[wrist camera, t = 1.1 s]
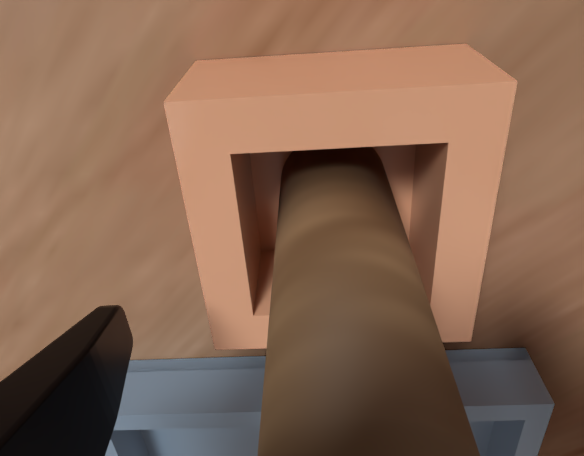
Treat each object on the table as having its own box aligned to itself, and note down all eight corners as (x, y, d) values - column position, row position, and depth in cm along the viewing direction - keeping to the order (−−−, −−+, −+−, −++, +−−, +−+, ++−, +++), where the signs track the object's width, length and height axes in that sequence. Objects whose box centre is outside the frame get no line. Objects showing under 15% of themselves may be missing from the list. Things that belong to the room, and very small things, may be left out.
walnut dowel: (387, 129, 13) (504, 413, 6) (383, 224, 15) (470, 545, 7) (277, 135, 13) (242, 419, 6) (284, 228, 15) (266, 547, 7)
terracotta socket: (466, 43, 12) (517, 81, 9) (440, 264, 16) (471, 341, 13) (195, 60, 13) (163, 102, 10) (230, 273, 16) (214, 349, 14)
